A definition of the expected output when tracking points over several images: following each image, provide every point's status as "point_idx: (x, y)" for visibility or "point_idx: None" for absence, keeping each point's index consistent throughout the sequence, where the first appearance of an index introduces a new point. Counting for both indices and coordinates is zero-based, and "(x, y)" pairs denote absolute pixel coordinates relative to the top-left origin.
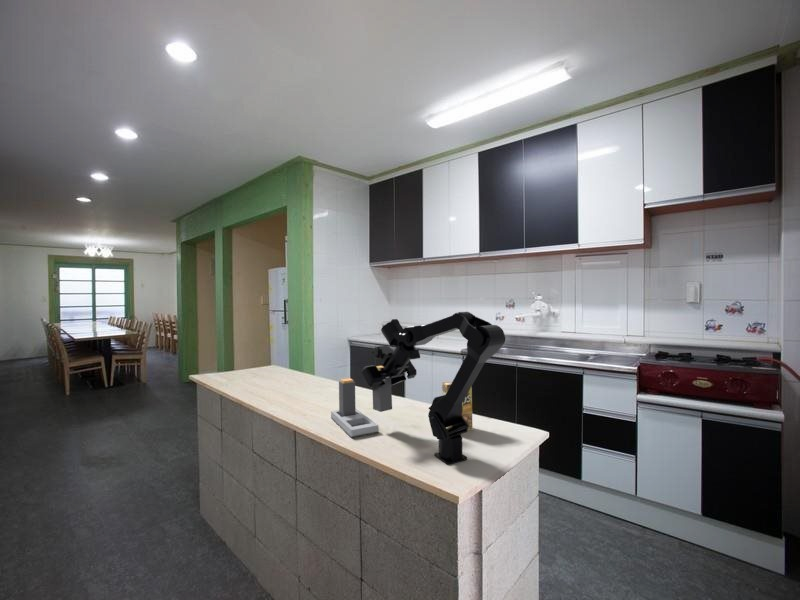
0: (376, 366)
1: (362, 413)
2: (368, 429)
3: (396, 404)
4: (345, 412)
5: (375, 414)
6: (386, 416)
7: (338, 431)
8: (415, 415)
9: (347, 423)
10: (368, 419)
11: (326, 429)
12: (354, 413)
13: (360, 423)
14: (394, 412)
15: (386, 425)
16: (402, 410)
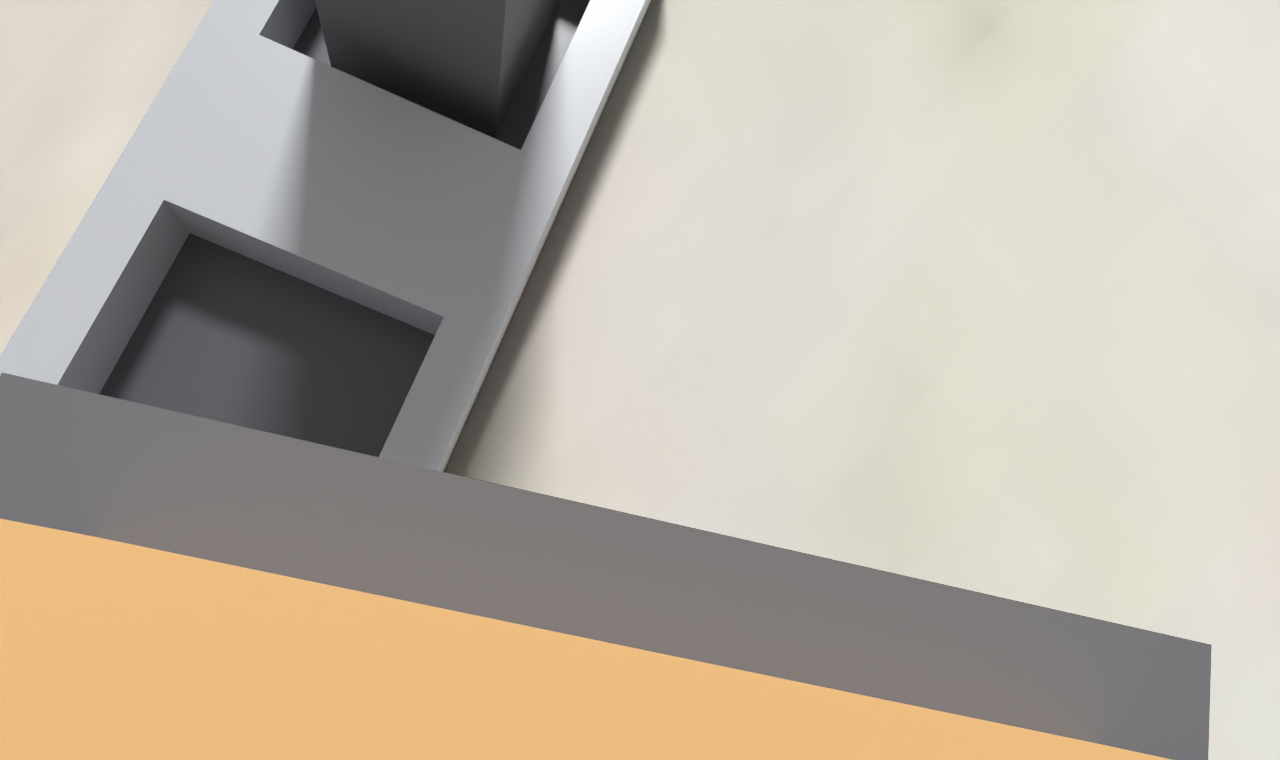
0: (304, 751)
1: (568, 170)
2: None
3: (1254, 139)
4: (347, 8)
5: (831, 182)
6: (870, 347)
7: (47, 244)
8: (1143, 625)
9: (83, 308)
10: (421, 432)
11: (11, 65)
12: (482, 88)
13: (393, 317)
14: (1040, 324)
15: None
16: (1158, 353)
